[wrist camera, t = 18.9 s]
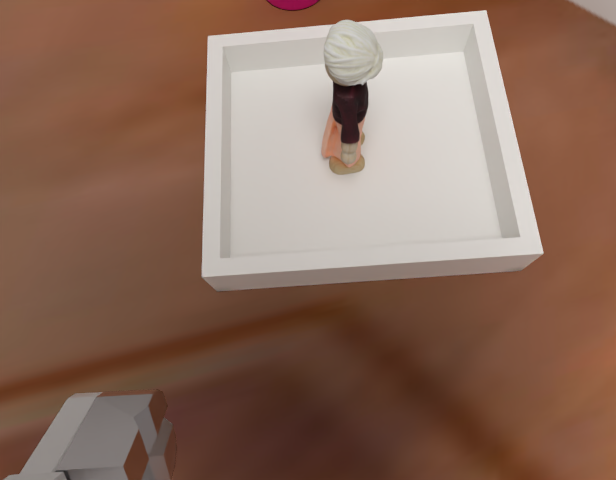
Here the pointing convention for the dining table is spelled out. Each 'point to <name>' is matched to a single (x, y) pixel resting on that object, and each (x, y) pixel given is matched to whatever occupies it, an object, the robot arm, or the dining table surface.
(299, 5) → the pepper mill
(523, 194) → the tray
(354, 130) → the grandmother figurine
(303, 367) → the dining table surface
